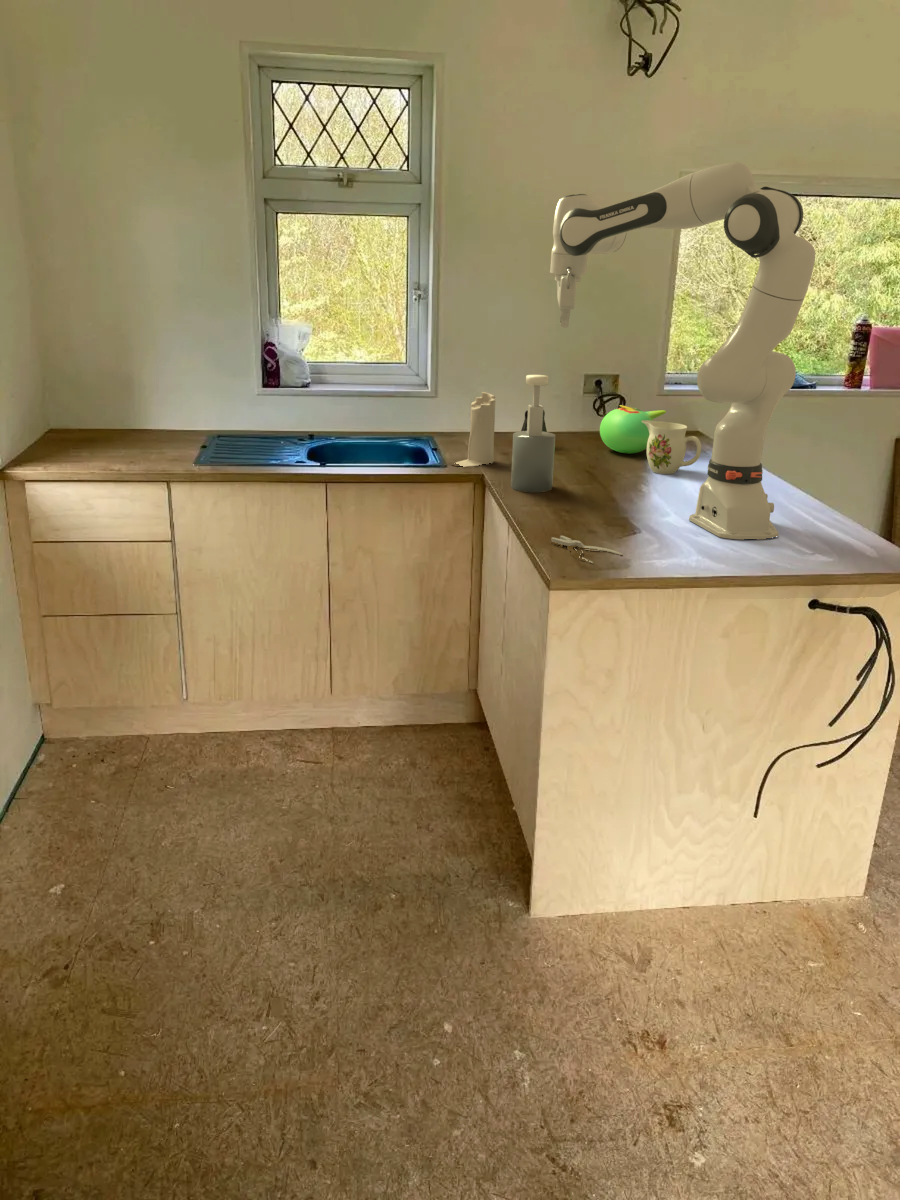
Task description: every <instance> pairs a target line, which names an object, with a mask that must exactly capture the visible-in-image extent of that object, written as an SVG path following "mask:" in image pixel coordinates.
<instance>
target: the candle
mask: <svg viewBox="0 0 900 1200" xmlns="http://www.w3.org/2000/svg"><path fill="white" fill-rule="evenodd" d="M469 415H470V416H469V417H470V419H469V421H470V431H469V432H470V433H469V439H468V446H467V447H468V449H467V459H463V460H459V461H456V462H455V463H456V464H459V465H460V466H463V467H462V468H466V467H468V468H469V467H470V468H471V467H479V465H480V466H483V465H482V464H486V465H490V464H489V463H491V464H493V463H494V450H495V449H494V447H495V446H494V444H495V443H494V442H495V425H496V424H495V422H496V421H495V420H496V417H495V416H496V396H495V395H494V394H491V393H489V392H486V391H482V392H481V396H477V397H475V399H474V401H472V402H471V404H470V414H469Z"/></svg>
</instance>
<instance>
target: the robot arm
mask: <svg viewBox="0 0 900 1200" xmlns="http://www.w3.org/2000/svg"><path fill="white" fill-rule="evenodd" d="M722 220H724V221H723V230H724V234H725V236H726V237H727V239H728V240H729V241H730V242H731V243H732V244H733V245H734V246H736V247H737V248H739V249H741V250H742V251H743V252H745V253H746V254H747V255H748V256H750V257H751V258H753V259H757V258H758V260H759V265H758V269H757V273H756V275H755V278H754V280H753V284H752V287H751V289H750V292H749V295H748V297H747V300H746V303H745V305H744V308H743V310H742V314H741V315H740V318H739V319H738V321H737V324H736V325H735V326H734V328H733V330H732V331H731V332H730V335H729V336H728V337H727V339H726V340H725V341H724V343H723V344H722V345H721V347H719V349H718V350H717V351H716V352H715V353H714V354H712V355H711V356H710V357H709V358H708V359H706V360H704V362H703V363H701V365H700V367H699V370H698V372H697V378H696V382H697V389H698V391H699V393H700V394H701V396H702V397H703V398H704V399H705V400H707V401H710V402H713V403H719V404H726V405H729V404H731V406H730V407H729V410H728V411H727V413H726V414H725V416H724V417H722V419H720V421H719V422H718V423H717V424H716V426H715V429H714V432H713V433H714V434H713V443H712V451H711V456H710V457H711V458H710V459H709V461H708V464H707V478H706V480H705V481H704V482H703V483H702V484H701V485H700V487H699V491H698V496H697V500H696V507H695V513H692V514H690V515H689V517H688V520H689V521H690V522H691V523H693V524H695V525H697V526H698V527H701V529H704V530H706V531H707V532H709V533H711V534H713V535H715V536H716V537H719V538H722V539H723V538H724V539H729V540H730V539H731V540H744V539H757V540H767V539H766V538H772V537H776V536H779V535H780V534H779V531H778V529H777V528H776V527H775V525H774V524H773V523H772V522H771V520H770V518H771V514H773V513H774V511H775V503H774V502H769V501H768V493H766V492H765V490H764V488H763V484H762V481H763V473H764V471H763V464H762V454H763V449H764V444H765V443H764V442H765V438H766V437H765V436H766V433H767V429H768V427H769V423H770V420H771V418H772V416H773V413H774V412H775V409H776V408H777V407H778V404H779V402H780V400H781V399H782V398H783V397H784V395H786V394H787V393H788V392H789V391H790V390H791V388H792V387H793V385H794V384H795V380H796V375H797V373H796V366H795V363H794V361H793V359H792V358H791V357H790V356H789V355H787V354H785V353H781V352H778V351H774V349H775V348H776V347H778V345H779V344H781V342H783V341H785V340H786V339H787V338H789V336H790V334H791V333H792V331H793V328H794V326H795V324H796V321H797V318H798V316H799V313H800V310H801V307H802V305H803V303H804V300H805V297H806V295H807V292H808V289H809V286H810V283H811V279H812V275H813V270H814V266H815V261H816V250H815V248H814V246H813V244H811V242H809V241H808V240H807V239H805V238H803V237H800V236H798V235H796V234H798V233H797V232H798V231H799V230H800V228H801V227H802V224H803V220H804V209H803V204H802V203H801V201H800V200H799V199H798V198H797V197H796V196H795V195H794V194H791V193H790V192H788V191H785V190H781V189H776V188H773V187H769V186H762V187H761V188H759V187H757V185H756V182H755V178H754V176H753V173H752V172H751V170H750V168H749V167H748V166H747V165H746V164H744V163H742V162H737V161H736V162H734V161H733V162H727V163H722V164H721V163H720V164H716V165H713V166H709V167H706V168H703V169H702V168H701V169H700V170H697V171H694V172H691V173H688V174H686V175H684V176H681V177H679V178H677V179H675V180H673V181H671V182H669V183H666V184H665V185H662V186H660V187H658V188H656V189H653V190H651V191H649V192H646V193H644V194H641V195H640V196H636V197H633V198H632V199H631V198H630V199H628V200H625V201H621V202H618V203H615V204H612V205H609V206H606V207H603V206H602V205H599V204H598V203H597V202H595V201H594V200H593V199H592V197H591V196H590V195H589V194H586V193H577V194H569V195H564V196H563V197H561V198H559V200H558V202H557V203H556V207H555V211H554V217H553V227H552V236H553V237H552V238H553V246H552V249H551V252H550V253H551V255H550V267H549V273H550V274H552V275H554V281H556V293H557V294H556V296H557V304H558V308H559V309H560V312H559V313H560V317H559V318H560V319H559V322H560V327H561V328H569V325H570V322H569V321H570V315H571V310H574V308H575V304H576V291H577V283H579V282H581V278H582V276H585V275H587V269H588V268H587V267H588V256H589V255H607V254H612V253H615V252H617V251H618V250H619V249H621V247H622V246H623V244H624V243H625V240H626V238H627V237H626V236H627V233H628V232H632V231H635V230H640V229H643V230H644V229H659V230H660V229H661V230H662V229H663V230H686V229H694V228H698V227H702V226H703V227H704V226H705V225H708V224H711V223H715V222H718V221H722ZM776 538H777V537H776ZM772 539H773V538H772Z"/></svg>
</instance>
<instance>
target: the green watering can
mask: <svg viewBox="0 0 900 1200" xmlns="http://www.w3.org/2000/svg"><path fill="white" fill-rule="evenodd" d="M666 413H667V411H666V410H663V409H662V410H661V409H660V410H658V409H657V410H650V411H643V410H641V409H639V408H636V407H631V406H626V405H622V404H620V405H619V407H618V408H615V409H613V410H610V411H609V412H608V413H607V414H606V415H604V417H603V418H602V420H601V422H600V425H599V435H600V438H601V440H602V442H603V444H605V445H606V447H608V448H609V449H611V450H612V451H615V452H616V453H617V452H618V453H622V454H627V455H628V454H630V455H631V454H638V453H640V452H643V451H645V450H647V442H648V438H649V435H650V434H649V430H648V428H647V426H646V425H645V424H644V423H643V422H642V420H650V421H654V419H656V418H659V417H661V416H662V415H665V414H666Z"/></svg>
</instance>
